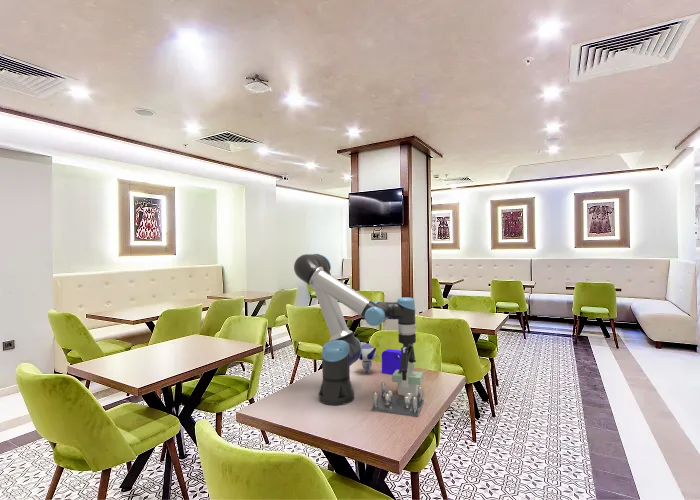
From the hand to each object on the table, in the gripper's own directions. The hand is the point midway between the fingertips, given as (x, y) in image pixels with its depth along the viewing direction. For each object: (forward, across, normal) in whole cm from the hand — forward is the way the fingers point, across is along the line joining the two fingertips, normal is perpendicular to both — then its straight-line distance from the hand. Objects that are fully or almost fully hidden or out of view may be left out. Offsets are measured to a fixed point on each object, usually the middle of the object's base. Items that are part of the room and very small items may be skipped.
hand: (408, 382), depth 162 cm
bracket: (+6, +32, +12) cm, 35 cm away
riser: (+5, 0, 0) cm, 5 cm away
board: (-1, 0, 0) cm, 1 cm away
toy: (+5, +22, +26) cm, 35 cm away
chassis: (+5, -14, +1) cm, 15 cm away
